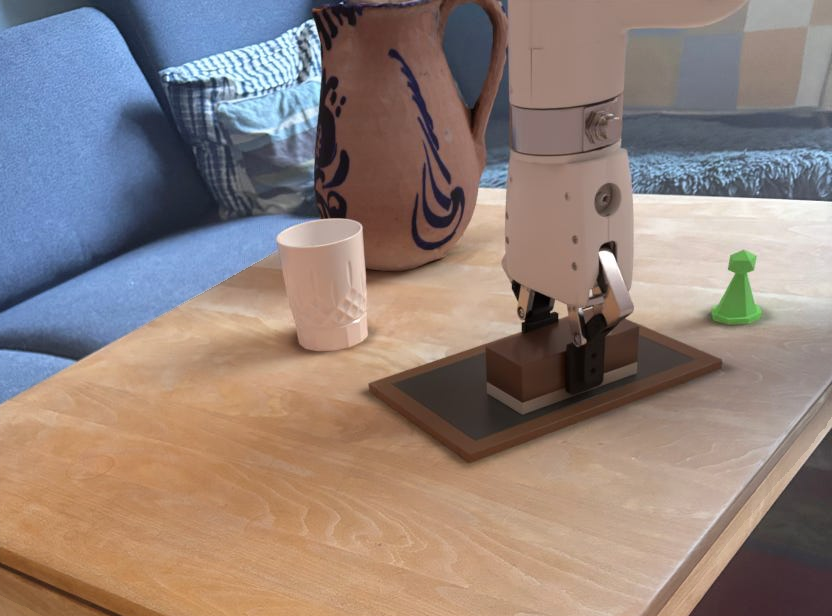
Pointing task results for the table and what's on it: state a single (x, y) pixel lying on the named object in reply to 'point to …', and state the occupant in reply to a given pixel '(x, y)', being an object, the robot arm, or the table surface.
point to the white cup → (325, 282)
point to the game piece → (738, 293)
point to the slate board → (504, 427)
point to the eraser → (551, 364)
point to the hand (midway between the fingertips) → (561, 374)
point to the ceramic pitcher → (399, 127)
